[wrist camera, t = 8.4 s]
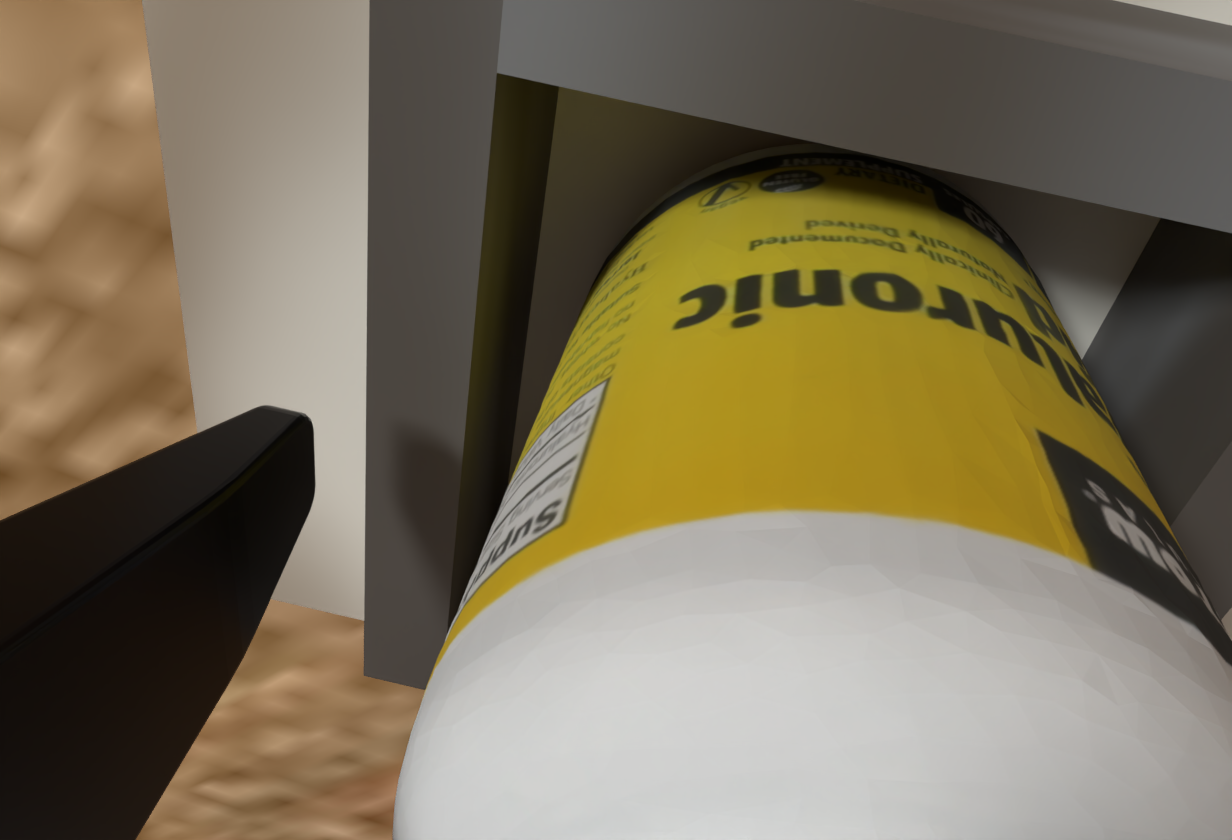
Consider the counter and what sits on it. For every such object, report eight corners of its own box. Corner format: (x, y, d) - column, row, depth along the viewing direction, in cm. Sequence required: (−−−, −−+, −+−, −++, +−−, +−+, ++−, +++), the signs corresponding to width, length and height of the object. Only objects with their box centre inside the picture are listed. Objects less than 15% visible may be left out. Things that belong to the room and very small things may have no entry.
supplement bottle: (1145, 265, 10) (2577, 2119, 2) (865, 571, 13) (994, 1791, 5) (708, 31, 9) (271, 1425, 1) (522, 411, 12) (48, 1528, 4)
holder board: (1887, -208, 8) (2787, -206, 4) (1121, 727, 16) (1220, 999, 13) (165, -561, 9) (-297, -819, 5) (258, 528, 17) (112, 735, 13)
